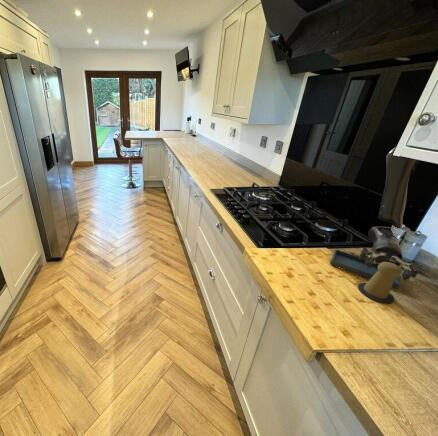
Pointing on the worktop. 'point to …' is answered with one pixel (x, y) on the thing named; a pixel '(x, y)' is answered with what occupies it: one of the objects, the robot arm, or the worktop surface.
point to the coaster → (385, 301)
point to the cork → (382, 280)
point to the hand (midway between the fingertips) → (387, 271)
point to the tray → (357, 265)
